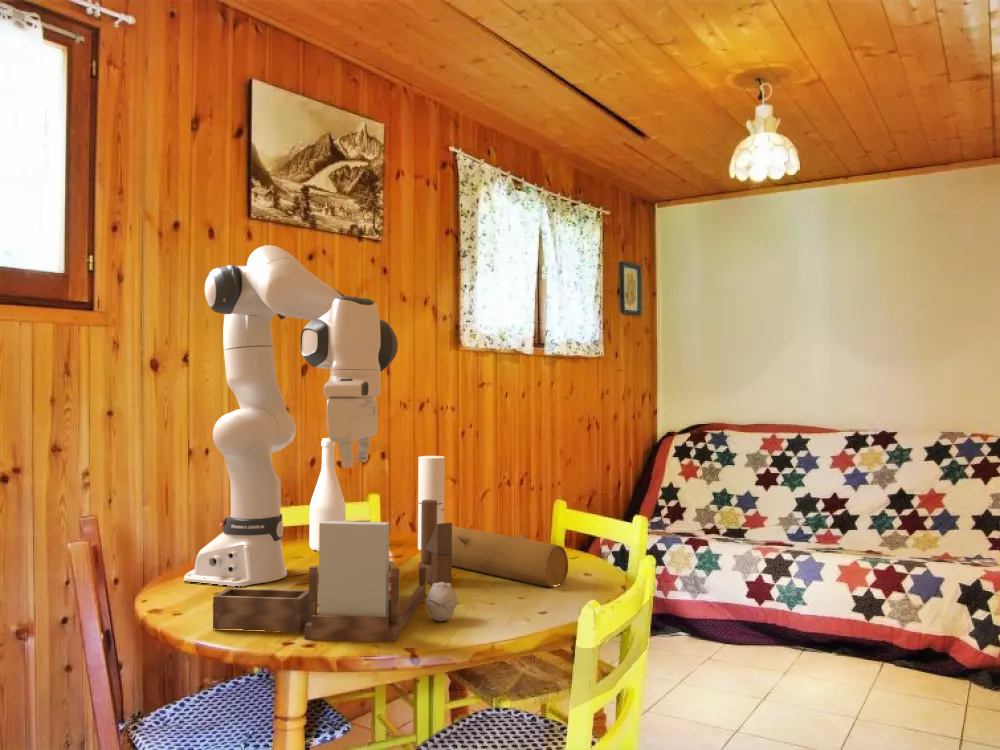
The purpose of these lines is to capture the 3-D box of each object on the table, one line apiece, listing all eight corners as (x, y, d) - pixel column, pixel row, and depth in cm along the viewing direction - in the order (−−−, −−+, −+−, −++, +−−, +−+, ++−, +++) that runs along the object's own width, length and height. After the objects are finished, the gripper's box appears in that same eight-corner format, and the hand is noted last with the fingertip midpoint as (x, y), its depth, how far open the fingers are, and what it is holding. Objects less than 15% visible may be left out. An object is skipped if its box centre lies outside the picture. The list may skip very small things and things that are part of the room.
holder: (212, 630, 138) (213, 596, 138) (227, 620, 144) (227, 588, 144) (300, 632, 137) (300, 599, 137) (311, 622, 143) (311, 590, 143)
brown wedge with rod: (437, 588, 168) (437, 506, 168) (417, 577, 177) (418, 499, 177) (452, 586, 169) (452, 505, 170) (432, 575, 179) (432, 498, 179)
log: (422, 564, 191) (422, 524, 191) (449, 558, 198) (449, 519, 199) (542, 592, 166) (543, 546, 166) (568, 584, 173) (569, 539, 173)
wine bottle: (349, 545, 212) (350, 437, 213) (338, 552, 203) (339, 439, 203) (316, 544, 213) (317, 437, 214) (304, 551, 204) (305, 439, 204)
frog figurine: (458, 615, 148) (458, 578, 148) (455, 626, 141) (456, 588, 141) (427, 614, 148) (427, 578, 148) (422, 625, 141) (423, 588, 141)
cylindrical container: (412, 548, 209) (413, 456, 209) (433, 544, 214) (433, 455, 214) (428, 552, 204) (429, 458, 204) (449, 549, 208) (450, 457, 209)
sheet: (318, 636, 135) (319, 523, 135) (322, 632, 137) (323, 520, 137) (385, 639, 134) (386, 524, 134) (388, 634, 136) (389, 522, 136)
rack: (304, 639, 134) (305, 570, 134) (351, 593, 163) (352, 537, 163) (394, 642, 132) (395, 572, 132) (425, 595, 162) (426, 538, 162)
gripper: (354, 386, 147) (353, 458, 147) (320, 386, 126) (319, 470, 126) (386, 386, 146) (386, 459, 146) (357, 386, 126) (357, 470, 126)
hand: (355, 464), depth 136 cm, fingers open, 8 cm apart
